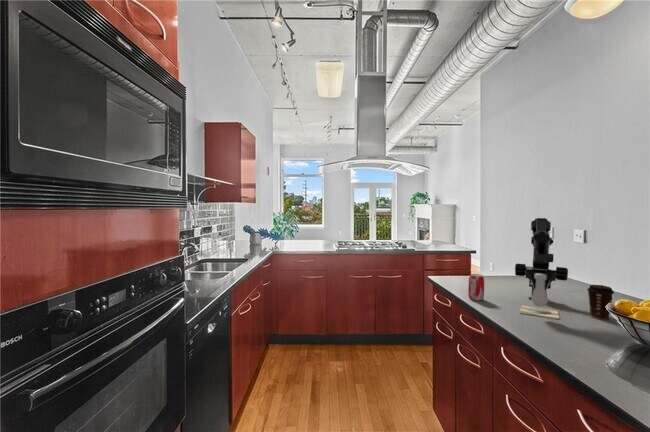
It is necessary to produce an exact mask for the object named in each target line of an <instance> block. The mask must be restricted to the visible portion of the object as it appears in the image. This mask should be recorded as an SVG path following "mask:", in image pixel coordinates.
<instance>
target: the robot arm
mask: <svg viewBox="0 0 650 432" xmlns="http://www.w3.org/2000/svg"><path fill="white" fill-rule="evenodd" d="M551 223H552V222H551V221H550V220H548V218H545V217H536V218H534V219H533V220H532V221H530V231H532V236H531V239H530V242H531V243H530V244H531V245H532V247H533V256H532V257H533V258H532V266H529V265H528V266H526V265H527V264H526V263H519V262H518V263H516V264H515V266H514V273H515V276H516V277H517V276H518V277H525V278H526V279H528V281H529V282H528V283H529V284H528V287H531V295H532V294H533V290H534V289H535V283H536V279H535V278H534V275H535V274H536V273H542V274H545V275H546V276H547V279H546V280H545V290H549V289H551V288H552V287H551V286H552V282H556V280H557V281H563V282H565V281H567V280H568V278H569V277H568V276H569V275H568V274H569V269H568V268H567V267H565V266H564V267H563V266H556V268H555V269H549V267H550V263H554V254H553V253H550V252H549V251H550V250H549V249H550V246H552V245H553V244H554V239H553V238H552V237H550V232H551V230H552V229H551ZM531 298H532V296H528V299H530V300H532V299H531ZM549 300H550V299H549V298H548V301H549Z"/></svg>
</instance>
